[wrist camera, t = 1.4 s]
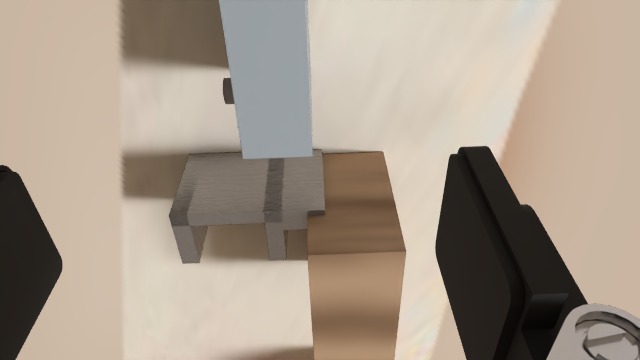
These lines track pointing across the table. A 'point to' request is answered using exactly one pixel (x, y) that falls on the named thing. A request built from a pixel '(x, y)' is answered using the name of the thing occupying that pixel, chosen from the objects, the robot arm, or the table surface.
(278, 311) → the table surface
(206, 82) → the table surface
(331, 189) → the brown tall rectangular block
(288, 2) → the pale blue tall prism
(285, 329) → the table surface
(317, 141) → the table surface
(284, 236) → the gray wooden bench
